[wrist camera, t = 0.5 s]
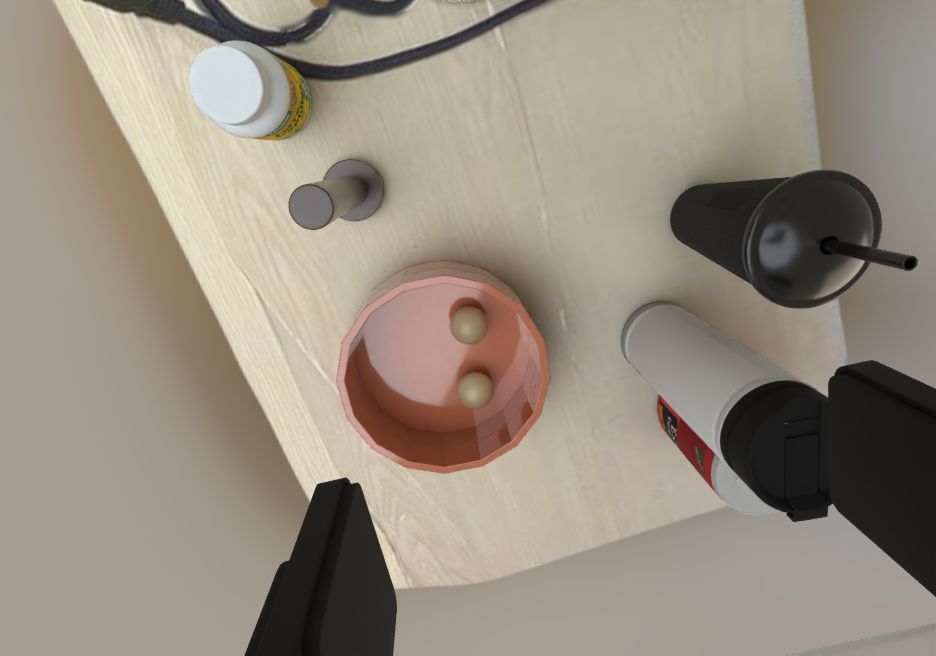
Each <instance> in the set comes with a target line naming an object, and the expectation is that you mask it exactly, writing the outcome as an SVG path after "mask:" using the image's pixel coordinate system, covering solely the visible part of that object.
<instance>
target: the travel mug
mask: <svg viewBox="0 0 936 656" xmlns="http://www.w3.org/2000/svg"><path fill="white" fill-rule="evenodd" d="M621 347H622V352H623V354H624V356H625V358H626V359H627V361H628V362H629V363H630V364H631V365H632V367H633V368H635V370H636V371H637V372H638V373H639V374H640V375H641V376H642V377H643V378H644V379H645V380H646V381H647V382H648V383H649V384H650V385H651V387H652V388H653V389H654V390H655V391H656V392H657V393H658V394H659V395H660V396H661V397H662V398H663V399H664V400H665V401H666V402H667V403H668V404H669V405H670V407H671V408H672V409H673V410H674V411H675V412H676V413H677V414H678V415H679V416H680V417H681V418H682V419H683V420H684V421H685V422H686V423H687V424H688V425H689V427H690V428H691V429H692V430H693V431H694V432H695V433H696V434H697V435H698V436H699V437H700V438H701V439H702V440H703V441H704V442H705V443H706V444H707V445H708V447H709V448H710V449H711V450H712V451H713V452H714V453H715V454H716V455H717V456H718V457H719V458H720V459H721V460H722V461H723V462H724V463H725V464H726V466H727V467H728V468H730V469H731V470H732V471H733V472H734V473H735V474H737V475H738V476H739V478H740V479H741V480H742V481H743V482H744V483H745V484H746V485H747V486H748V487H749V488H750V489H751V490H752V491H753V492H754V493H755V494H756V495H757V496H758V497H759V498H760V499H761V500H762V501H763V502H764V503H765V504H767V505H769V506H770V507H772V508H774V509H776V510H779V511H783V512H787V516H788V517H789V518H790V519H791V520H792V521H793V522H797V521H804V520H811V519H817V518H822V517H827V514H828V506H829V505H831V504H833V502H832V499H831V496H830V467H829V404H828V397H826V396H825V395H823V394H821V393H819V392H818V391H817V390H816V389H815V388H813V387H812V386H810V385H808V384H807V383H805V382H804V381H802V380H800V379H799V378H797V377H795V376H794V375H792V374H790V373H789V372H787V371H785V370H784V369H782V368H780V367H779V366H777V365H775V364H774V363H772V362H771V361H769V360H767V359H766V358H764V357H762V356H761V355H759V354H757V353H756V352H754V351H752V350H751V349H749V348H747V347H746V346H744V345H742V344H741V343H739V342H738V341H736V340H734V339H733V338H731V337H729V336H728V335H726V334H724V333H723V332H721V331H719V330H718V329H716V328H714V327H713V326H711V325H709V324H708V323H706V322H704V321H703V320H701V319H700V318H698V317H696V316H695V315H693V314H691V313H690V312H688V311H686V310H685V309H683V308H681V307H680V306H678V305H676V304H673V303H669V302H655V303H651V304H648V305H646V306H644V307H642V308H640V309H639V310H637V311H636V312H635V313H634V314H633V315H632V316H631V317H630V318H629V320H628V321H627V323H626V324H625V327H624V329H623V332H622V336H621Z"/></svg>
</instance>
